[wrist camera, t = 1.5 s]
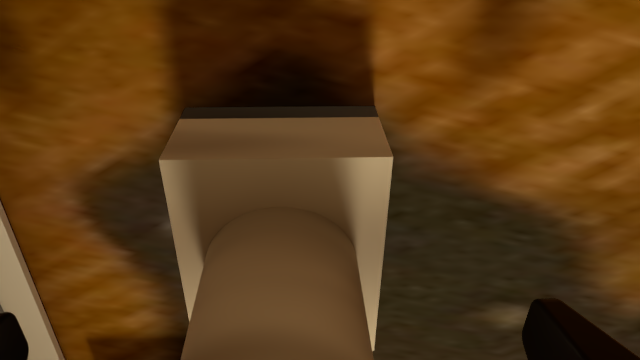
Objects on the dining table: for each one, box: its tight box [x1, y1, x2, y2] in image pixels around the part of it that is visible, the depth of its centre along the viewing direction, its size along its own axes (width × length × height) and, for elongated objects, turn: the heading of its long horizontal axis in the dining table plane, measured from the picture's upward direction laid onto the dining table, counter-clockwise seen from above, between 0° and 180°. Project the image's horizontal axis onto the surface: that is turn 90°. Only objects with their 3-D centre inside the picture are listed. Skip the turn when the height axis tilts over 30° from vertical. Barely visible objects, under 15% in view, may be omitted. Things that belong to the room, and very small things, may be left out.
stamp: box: [159, 106, 393, 360], centre depth 8 cm, size 5×4×8 cm
